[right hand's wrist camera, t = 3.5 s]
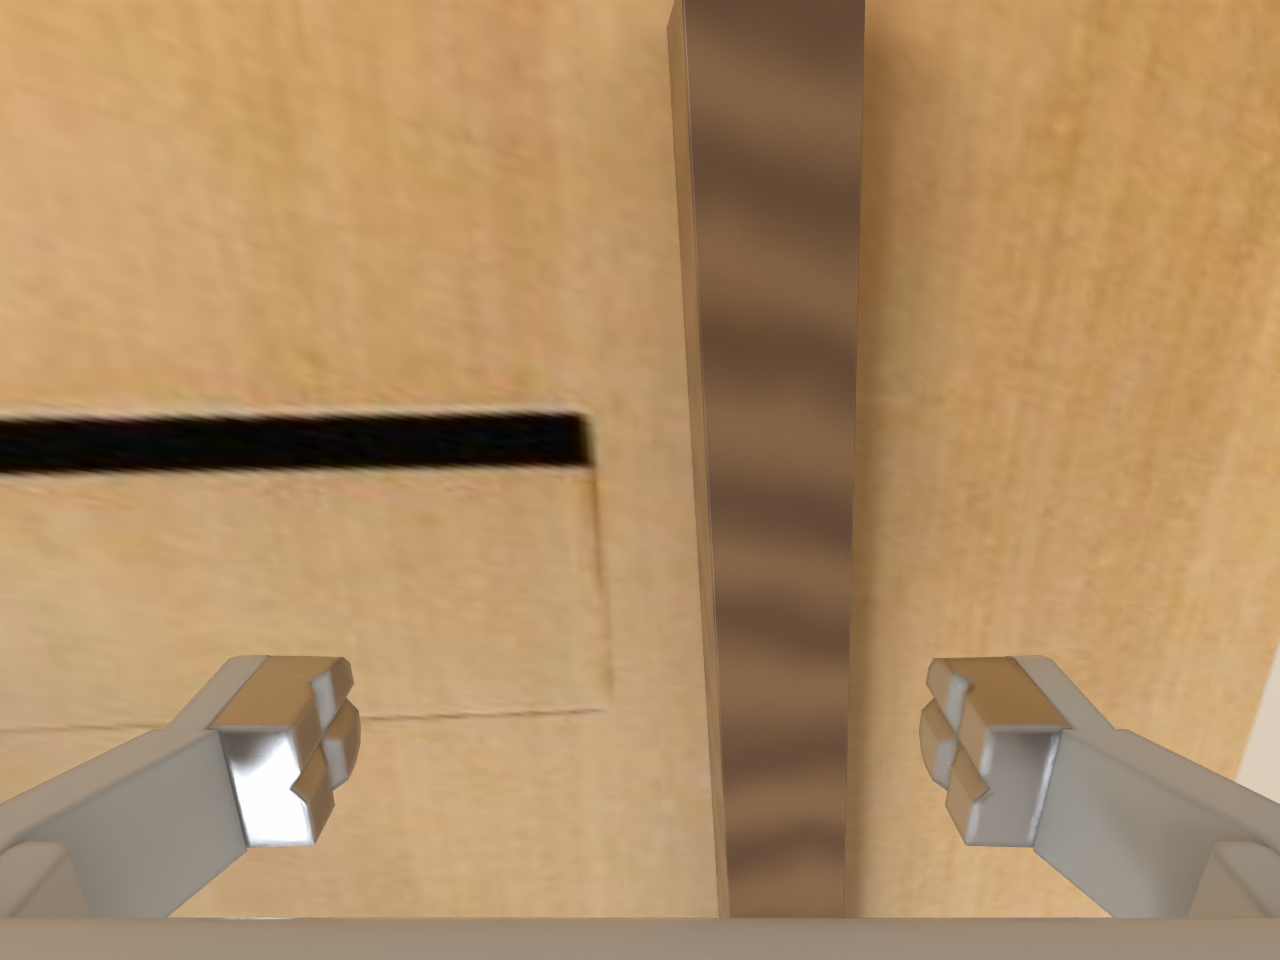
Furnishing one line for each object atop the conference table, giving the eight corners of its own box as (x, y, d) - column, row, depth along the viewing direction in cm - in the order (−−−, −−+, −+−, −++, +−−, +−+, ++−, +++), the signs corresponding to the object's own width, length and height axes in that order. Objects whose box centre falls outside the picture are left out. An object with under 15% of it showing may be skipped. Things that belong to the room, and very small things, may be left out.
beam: (666, 25, 26) (680, -25, 20) (811, 12, 26) (866, -42, 20) (737, 1232, 53) (752, 1361, 47) (809, 1227, 53) (833, 1355, 47)
